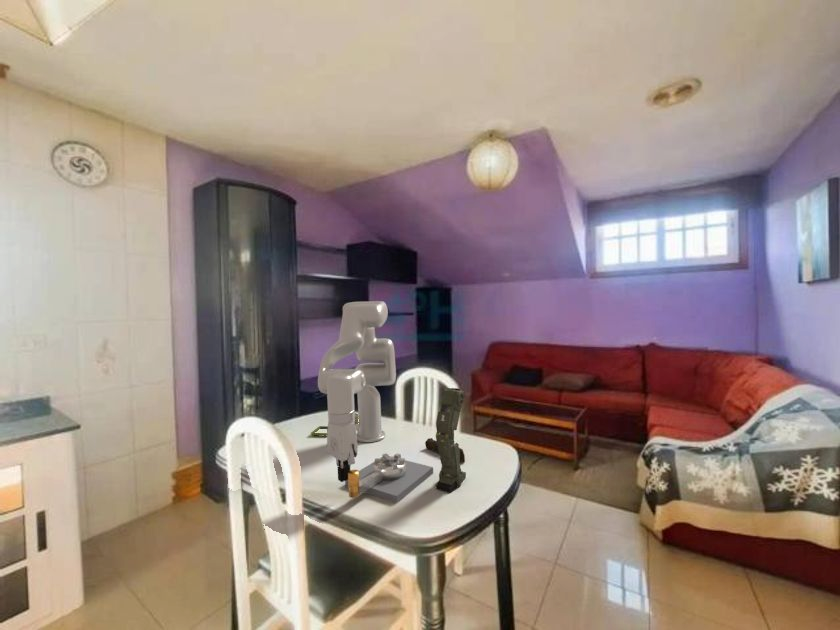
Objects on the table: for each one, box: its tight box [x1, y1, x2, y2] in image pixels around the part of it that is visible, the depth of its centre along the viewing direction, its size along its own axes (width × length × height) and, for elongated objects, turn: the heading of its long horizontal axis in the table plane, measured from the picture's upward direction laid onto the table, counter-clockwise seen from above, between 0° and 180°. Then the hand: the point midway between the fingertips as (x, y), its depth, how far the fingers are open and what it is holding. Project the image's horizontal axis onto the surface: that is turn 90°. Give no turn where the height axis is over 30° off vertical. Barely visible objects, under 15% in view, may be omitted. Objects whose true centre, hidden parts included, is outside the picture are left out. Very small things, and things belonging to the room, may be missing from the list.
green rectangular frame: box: [310, 425, 328, 436], centre depth 156 cm, size 9×9×2 cm
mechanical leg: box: [435, 387, 467, 494], centre depth 109 cm, size 14×7×30 cm, turn 148°
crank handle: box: [348, 453, 406, 499], centre depth 106 cm, size 22×10×7 cm, turn 146°
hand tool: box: [424, 437, 466, 463], centre depth 128 cm, size 19×4×5 cm, turn 37°
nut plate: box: [344, 455, 434, 504], centre depth 112 cm, size 20×20×2 cm
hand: (344, 479), depth 101 cm, fingers closed
